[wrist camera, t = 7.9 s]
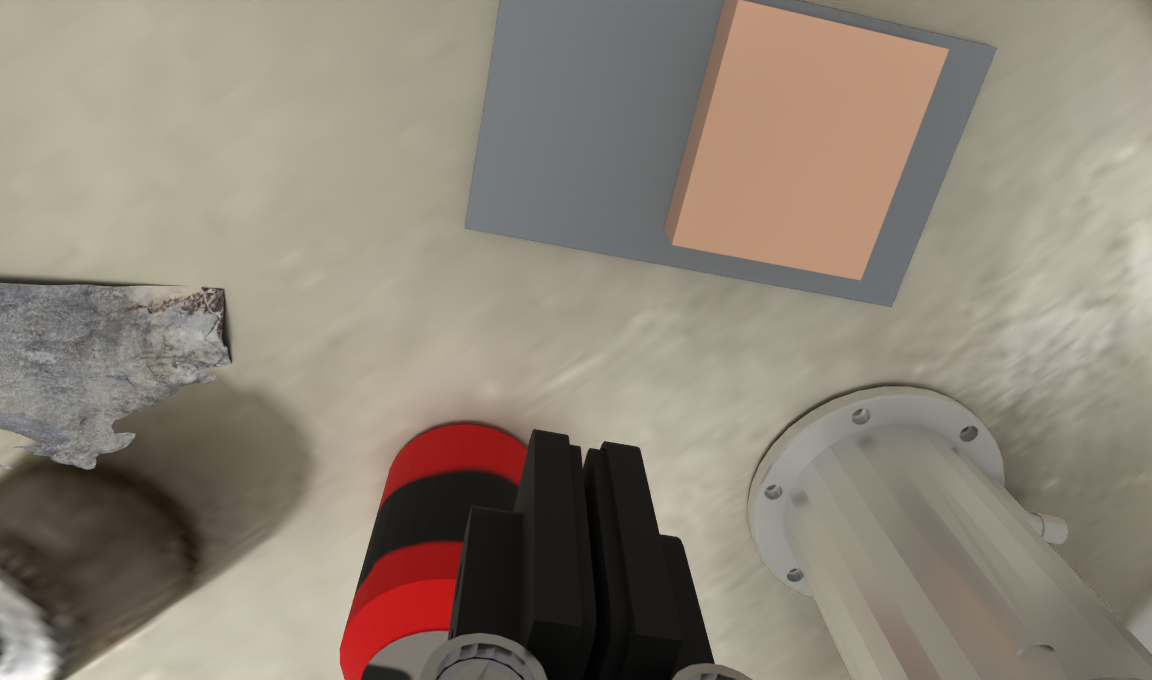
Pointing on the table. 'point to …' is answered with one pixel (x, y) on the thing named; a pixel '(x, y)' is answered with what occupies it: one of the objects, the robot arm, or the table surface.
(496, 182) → the mat
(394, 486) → the soda can
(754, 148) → the tile
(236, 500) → the table surface
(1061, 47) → the table surface
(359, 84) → the table surface
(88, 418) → the stone slab
